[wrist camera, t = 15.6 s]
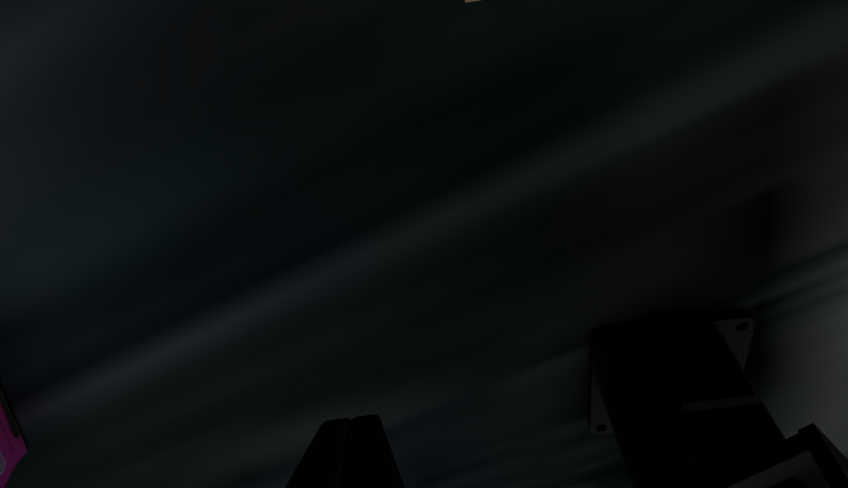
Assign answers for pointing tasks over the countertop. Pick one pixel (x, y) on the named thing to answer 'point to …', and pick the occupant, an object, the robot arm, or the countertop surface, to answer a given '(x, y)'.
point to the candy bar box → (9, 443)
